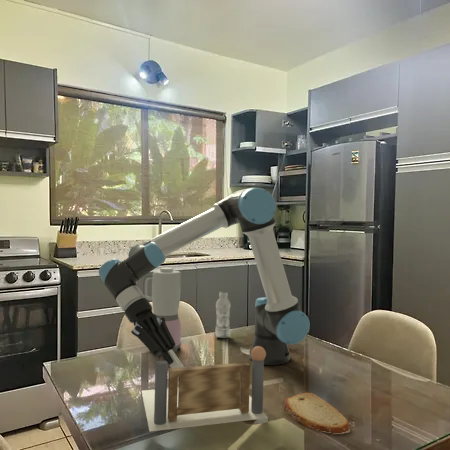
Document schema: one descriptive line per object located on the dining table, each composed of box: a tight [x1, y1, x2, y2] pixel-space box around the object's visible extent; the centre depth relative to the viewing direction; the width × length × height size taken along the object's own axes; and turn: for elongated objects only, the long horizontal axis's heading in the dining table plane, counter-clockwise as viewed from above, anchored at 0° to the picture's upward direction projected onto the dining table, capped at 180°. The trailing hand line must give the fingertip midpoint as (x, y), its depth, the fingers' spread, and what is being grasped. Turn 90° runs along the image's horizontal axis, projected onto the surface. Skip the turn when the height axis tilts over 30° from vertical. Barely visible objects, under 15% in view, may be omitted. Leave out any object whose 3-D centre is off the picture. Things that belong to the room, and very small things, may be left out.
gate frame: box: [141, 346, 269, 432], centre depth 114 cm, size 30×24×18 cm
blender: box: [142, 267, 183, 353], centre depth 165 cm, size 16×12×32 cm
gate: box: [167, 361, 251, 421], centre depth 107 cm, size 21×2×12 cm, turn 106°
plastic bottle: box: [214, 291, 231, 339], centre depth 182 cm, size 6×7×20 cm
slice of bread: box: [282, 392, 351, 433], centre depth 112 cm, size 18×18×4 cm
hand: (180, 372), depth 115 cm, fingers closed
